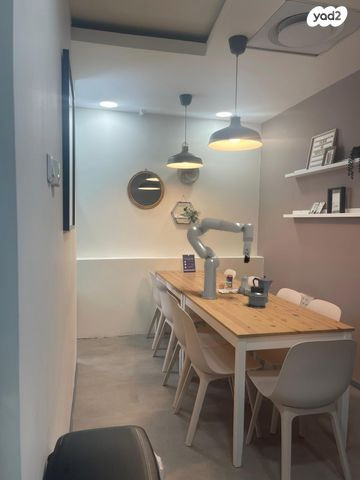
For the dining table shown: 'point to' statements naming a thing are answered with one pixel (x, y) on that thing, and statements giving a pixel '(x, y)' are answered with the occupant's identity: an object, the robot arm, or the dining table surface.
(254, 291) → the lid
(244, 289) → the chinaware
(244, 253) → the robot arm
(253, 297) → the pot
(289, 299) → the dining table surface
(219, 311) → the dining table surface
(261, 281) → the moka pot
